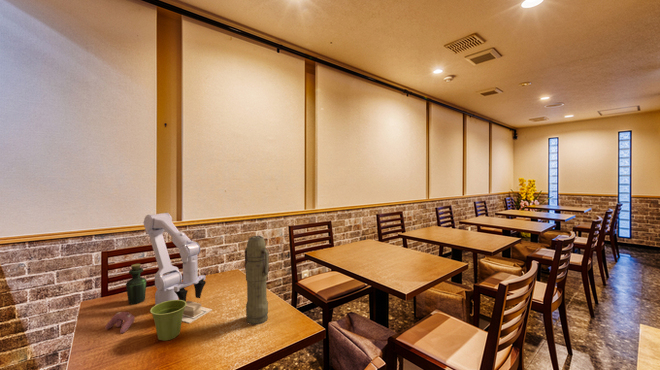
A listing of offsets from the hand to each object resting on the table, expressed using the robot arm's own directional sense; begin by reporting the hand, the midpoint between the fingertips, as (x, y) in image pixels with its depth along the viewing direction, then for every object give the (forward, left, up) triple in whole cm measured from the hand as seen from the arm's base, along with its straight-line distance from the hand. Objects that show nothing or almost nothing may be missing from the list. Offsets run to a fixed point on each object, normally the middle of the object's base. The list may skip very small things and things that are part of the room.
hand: (190, 301), depth 119 cm
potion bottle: (-35, -1, -6) cm, 35 cm away
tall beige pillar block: (0, 0, -5) cm, 5 cm away
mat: (0, 0, -6) cm, 6 cm away
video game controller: (-17, -19, -6) cm, 26 cm away
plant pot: (+6, -15, -6) cm, 18 cm away
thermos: (+30, +7, -6) cm, 31 cm away
